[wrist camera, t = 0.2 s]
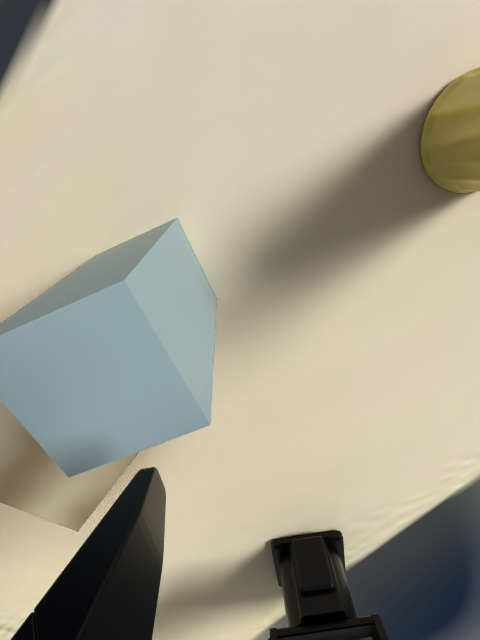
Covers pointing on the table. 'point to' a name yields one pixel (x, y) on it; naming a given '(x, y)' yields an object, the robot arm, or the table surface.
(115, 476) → the birch slab
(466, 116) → the vase
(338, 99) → the table surface
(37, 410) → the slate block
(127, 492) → the robot arm
